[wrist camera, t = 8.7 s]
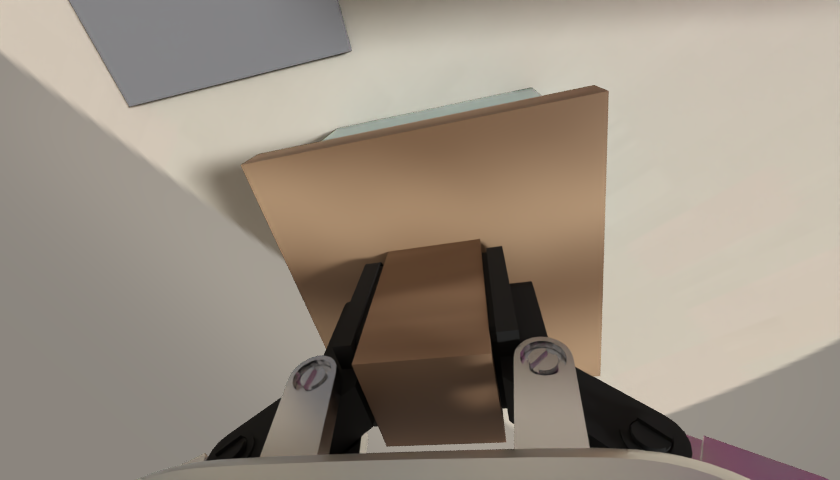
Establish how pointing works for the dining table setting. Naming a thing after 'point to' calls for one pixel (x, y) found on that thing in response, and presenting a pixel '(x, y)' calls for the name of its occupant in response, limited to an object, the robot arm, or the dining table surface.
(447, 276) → the lid
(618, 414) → the robot arm
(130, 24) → the mat
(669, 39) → the dining table surface
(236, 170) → the dining table surface
